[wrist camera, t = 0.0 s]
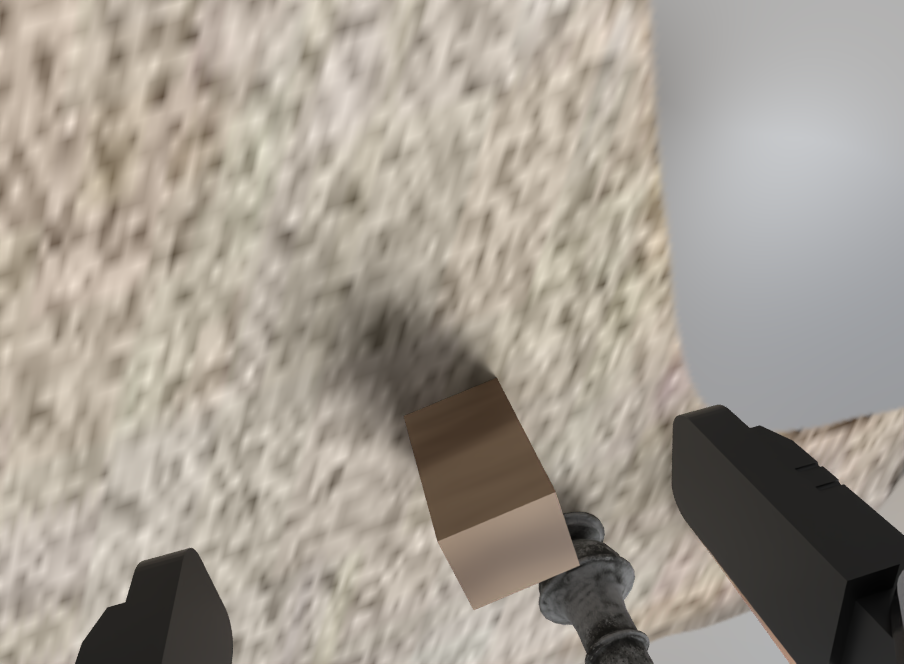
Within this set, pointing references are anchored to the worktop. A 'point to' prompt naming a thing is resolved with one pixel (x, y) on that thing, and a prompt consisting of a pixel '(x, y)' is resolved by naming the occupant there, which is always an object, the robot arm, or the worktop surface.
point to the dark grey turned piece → (595, 597)
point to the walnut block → (488, 495)
